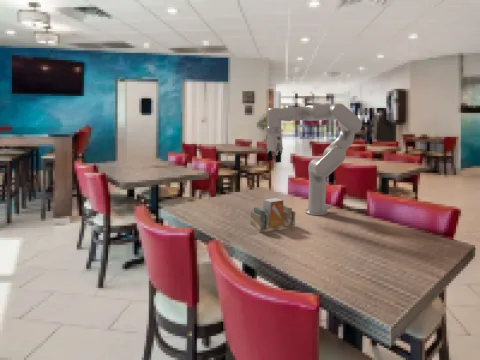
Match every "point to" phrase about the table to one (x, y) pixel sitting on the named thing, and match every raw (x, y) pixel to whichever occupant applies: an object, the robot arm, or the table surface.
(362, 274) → the table surface
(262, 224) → the book rack
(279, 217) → the small box
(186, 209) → the table surface
